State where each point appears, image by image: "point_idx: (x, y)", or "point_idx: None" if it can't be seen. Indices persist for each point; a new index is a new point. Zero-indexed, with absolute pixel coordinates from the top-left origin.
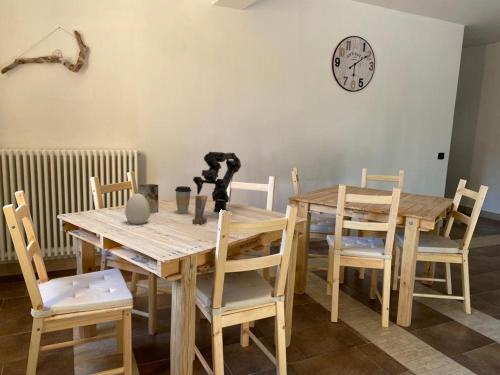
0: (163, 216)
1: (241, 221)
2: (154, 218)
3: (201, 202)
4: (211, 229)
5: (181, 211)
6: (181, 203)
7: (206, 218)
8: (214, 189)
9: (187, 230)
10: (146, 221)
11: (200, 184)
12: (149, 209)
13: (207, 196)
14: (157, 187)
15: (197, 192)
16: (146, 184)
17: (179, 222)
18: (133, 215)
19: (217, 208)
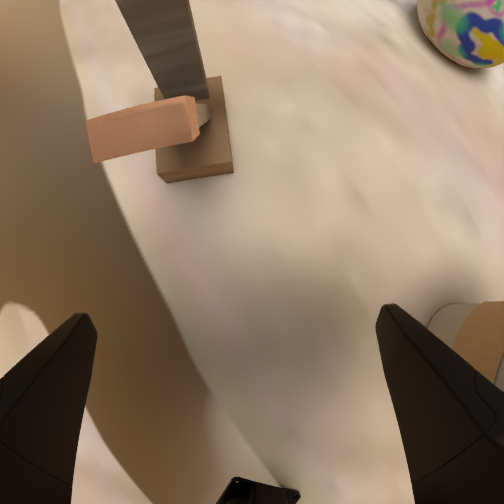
0: (470, 177)
1: (19, 328)
2: (466, 117)
3: (127, 23)
4: (86, 78)
5: (451, 307)
6: (487, 307)
7: (158, 173)
8: (13, 391)
9: None
10: (427, 36)
11: (473, 499)
12: (444, 1)
13: (91, 150)
14: None
15: (409, 318)
16: None
17: (315, 89)
18: None
19: (255, 494)
